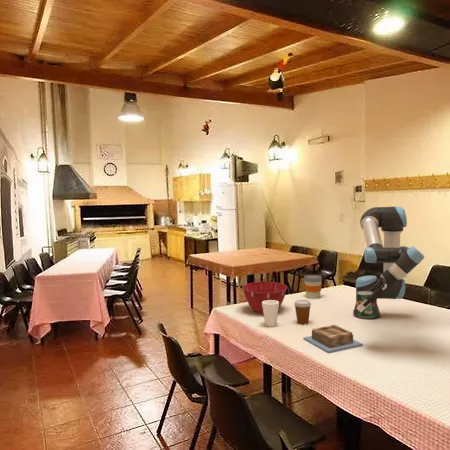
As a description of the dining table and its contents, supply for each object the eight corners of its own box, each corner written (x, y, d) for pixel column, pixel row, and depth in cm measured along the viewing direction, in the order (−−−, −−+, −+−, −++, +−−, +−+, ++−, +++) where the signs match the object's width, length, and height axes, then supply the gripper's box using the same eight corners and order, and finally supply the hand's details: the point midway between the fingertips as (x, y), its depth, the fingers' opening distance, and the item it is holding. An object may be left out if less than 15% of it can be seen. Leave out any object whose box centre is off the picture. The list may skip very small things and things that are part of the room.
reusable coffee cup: (304, 299, 279) (304, 278, 278) (303, 295, 291) (303, 274, 290) (322, 299, 277) (322, 278, 276) (321, 295, 289) (321, 274, 288)
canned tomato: (353, 314, 192) (353, 292, 192) (366, 312, 196) (365, 290, 195) (366, 319, 185) (365, 295, 185) (378, 316, 188) (378, 293, 188)
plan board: (335, 333, 209) (335, 331, 209) (362, 345, 191) (362, 343, 191) (303, 339, 202) (303, 337, 202) (328, 353, 183) (328, 351, 183)
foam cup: (268, 328, 220) (267, 305, 219) (259, 324, 228) (258, 301, 227) (282, 325, 224) (282, 302, 224) (273, 321, 233) (272, 299, 232)
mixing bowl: (295, 314, 245) (294, 289, 244) (250, 318, 238) (250, 293, 237) (277, 302, 273) (277, 280, 272) (237, 306, 266) (237, 283, 265)
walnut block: (334, 333, 205) (334, 324, 205) (353, 342, 193) (353, 332, 192) (311, 338, 200) (311, 328, 200) (329, 347, 187) (329, 337, 187)
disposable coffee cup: (311, 325, 223) (311, 304, 222) (294, 324, 225) (293, 303, 224) (311, 320, 232) (310, 299, 232) (294, 319, 234) (294, 299, 233)
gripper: (403, 285, 175) (365, 320, 181) (397, 275, 195) (363, 307, 200) (389, 273, 176) (352, 308, 182) (385, 265, 196) (352, 296, 202)
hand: (358, 307), depth 191 cm, fingers closed on canned tomato, 8 cm apart
